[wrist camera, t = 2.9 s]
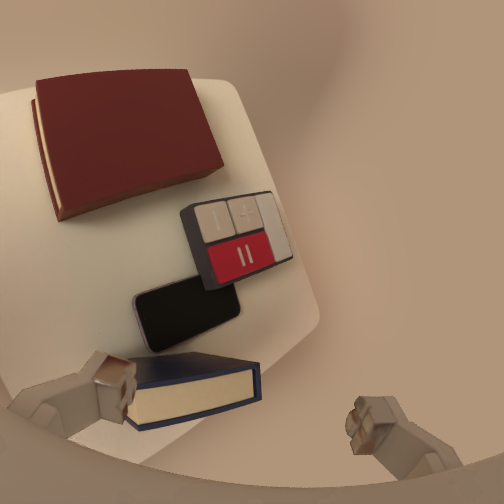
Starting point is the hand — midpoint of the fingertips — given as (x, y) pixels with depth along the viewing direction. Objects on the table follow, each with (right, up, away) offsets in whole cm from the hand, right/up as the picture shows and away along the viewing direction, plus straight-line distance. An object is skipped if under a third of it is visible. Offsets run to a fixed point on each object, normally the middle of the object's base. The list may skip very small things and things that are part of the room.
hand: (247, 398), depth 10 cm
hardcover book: (-12, -9, +23) cm, 27 cm away
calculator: (-3, +7, +35) cm, 36 cm away
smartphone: (-8, -2, +29) cm, 30 cm away
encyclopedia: (-16, +20, +25) cm, 36 cm away
